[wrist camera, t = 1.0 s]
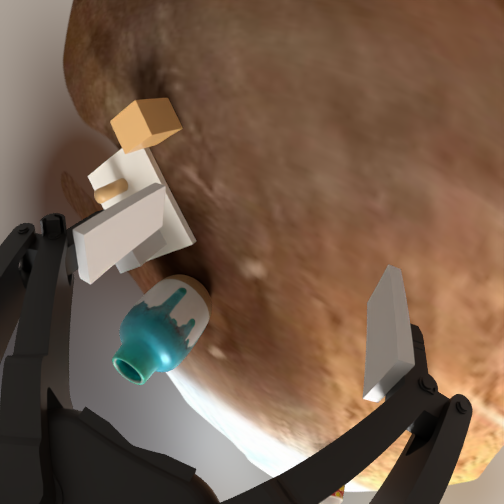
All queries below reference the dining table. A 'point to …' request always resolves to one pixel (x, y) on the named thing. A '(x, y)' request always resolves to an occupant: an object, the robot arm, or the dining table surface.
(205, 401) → the dining table surface
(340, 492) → the smoothie
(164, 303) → the vase
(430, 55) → the dining table surface
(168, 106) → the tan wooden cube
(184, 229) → the plate
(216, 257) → the dining table surface
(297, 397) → the dining table surface
